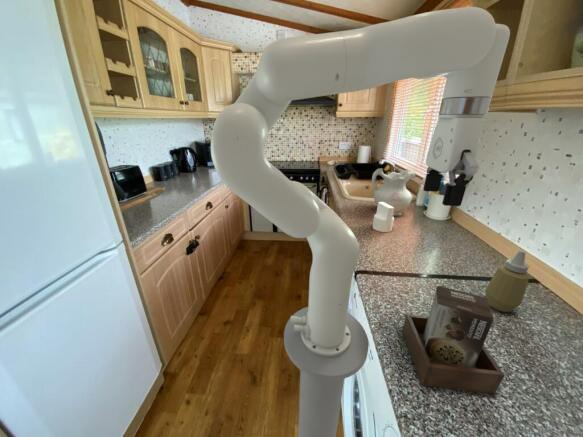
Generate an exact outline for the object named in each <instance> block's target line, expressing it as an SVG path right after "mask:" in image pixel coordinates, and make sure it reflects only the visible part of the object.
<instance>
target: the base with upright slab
mask: <svg viewBox="0 0 583 437" xmlns="http://www.w3.org/2000/svg"><path fill="white" fill-rule="evenodd" d="M376 206H377V205H376ZM393 212H394V207H392V206H390V205H388V204H387V203H385V202H378V206H377V207H376V213H375V214H374V215H373V221H372V229H373V230H375V231H377V232H380V233H391V232H392V231H393V226H394V220H395V217H394V215H393Z"/></svg>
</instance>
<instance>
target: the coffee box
mask: <svg viewBox="0 0 583 437" xmlns="http://www.w3.org/2000/svg"><path fill="white" fill-rule="evenodd" d="M428 316H429V317H428V320H427V324H426V327H425V331H424V334H423V337H422V344H423V346H424V348H425V351H426V353H427V355H428V358H429V360H430V362H431V363H432V364H440V365H449V366H458V367H467V368H474V366H475V364H476V361H477V359H478V356H479V354H480V351H481V349H482V346H483V345H484V344H485V342H486V339H487V337H488V335H489V332H490V330H491V328H492V325H493V323H494V320H495V317H494V315H493V312H492V308H491V306H490V305H489V302H488V299H487V298H486V296H482V295H477V294H473V293H470V292H469V293H468V292H465V291H460V290H457V289H453V288H449V287H445V286H442V285H441V286H440V285H437V286H436V290H435V293H434V296H433V299H432V304H431V306H430V311H429V314H428Z"/></svg>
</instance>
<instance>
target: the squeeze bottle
mask: <svg viewBox="0 0 583 437" xmlns="http://www.w3.org/2000/svg"><path fill="white" fill-rule="evenodd" d="M525 259H526V251H525V250H523V249H521V250H520V249H519V251H517V253H516V254H515V255H514V256H513V258H507V259H506V260H505V262H504V264H501V265H498V267H497V269H496V270H495V272H494V274H493V275H492V277H491V279H490V281H489V283H488V284H487V286H486V288H485V298H487V299H488V302H489V305H490V307H492V308H493V309H495V310H497V311H500V312H504V313H510V312H512V311H514V310H515V309H516V308H518V307H519V306H521V305H522V303H523V301H524V297H525V295H526V294H525V293H526V291H527V287H528V284H529V281H530V274H529V273H528V270H529V264H528V263H526V262H525V261H526V260H525Z"/></svg>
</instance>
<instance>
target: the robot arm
mask: <svg viewBox="0 0 583 437" xmlns="http://www.w3.org/2000/svg"><path fill="white" fill-rule="evenodd" d="M510 36H511V30H510V27H509V26H508V25H507V24H503V23H496V21H495V18H494V17H493V16H492V14H491V13H490V12H489V11H487V10H486V9H484V8H481V7H477V6H464V7H455V8H446V9H441V10H440V9H439V10H432V11H428V12H427V11H426V12H422V13H418V14H413V15H409V16H405V17H402V18H398V19H393V20H390V21H385V22H379V23H375V24H371V25H368V26H364V27H360V28H354V29H347V30H341V31H340V30H339V31H333V32H324V33H317V34H316V33H315V34H306V35H299V36H298V35H297V36H291V37H283V38H280V39H276V40H274V41H272V42H270V43H269V44H268V45H267V46H266V47H265V48H264V49H263V51H262V53H261V55H260V58H259V61H258V65H257V68H256V70H255V72H254V73H253V75H252V77H251V79H250V80H249V81H248V83H247V84H246V86H245V87H244V89H243V91H241V94H240V95H239V96H238V98H237V99H236V100H235V102H234V103H232V104H228V105H227V106H225V107H224V108H223V109H222V110H220V112H219V114H218V115H217V116H216V119H215V120H214V123H213V126H212V130H211V136H210V155H211V156H210V157H211V160H212V164H213V167H214V170H215V172H216V173H217V175H218V177H219V178H220V180H221V181H222V182H223V184H224V185H225V186H226V187H227V188H228V189H229V190H230V191H231V192H233V194H235V195H236V196H237V197H239V198H240V199H241V200H243V201H244V202H245V203H247V204H248V205H249V206H251V208H253V209H254V210H255V211H256V212H258V214H260V215H262V216H263V217H264V218H265V219H267V220H268V221H269V222H270V223H272V224H273V225H275V227H277V228H278V229H279V230H280V231H281V232H283V233H284V234H286V235H287V236H289V237H292V238H294V239H306V240H307V242H308V245H309V247H310V250H311V253H312V262H311V266H310V270H309V278H308V279H309V282H308V286H309V287H308V302H307V304H308V306H307V307H308V312H307V316H303V317H298V316H293V315H290V318H291V319H290V318H289V319H290V324H302V326H299V325H294V331H301V337H302V340H303V343H304V344H305V346H306V347H307V348H308V349H309V350H310V351H312V352H313V353H315V354H317V355H320V356H325V357H334V356H338V355H340V354H342V353H343V352H345V351H346V350H347V348H348V347H349V344H350V340H351V335H350V331H349V328H348V327H347V325H346V320H347V313H349V305H350V298H351V297H350V296H351V288H352V282H353V275H354V272H355V268H356V265H357V263H358V260H359V256H360V244H359V240H358V239H357V237H356V235H355V234H354V232H353V230H352V229H351V228H350V227H349V225H347V224H346V222H344V221H343V219H342V218H341V217H340V216H339V215H338V214H337V212H335V211H334V210H333V209H332V208H331V207H329V206H328V204H326V203H325V202H324V201H323V200H322V199H320V197H318V195H316V193H314V192H313V191H312V190H311V189H309V188H308V187H307V186H306V185H304V183H301V182H299V181H296V180H291V179H289V178H288V177H287V176H286V175H285V174H284V173H283V171H281V170H280V169H279V168H277V167H276V166H275V165H273V164H272V162H270V161H269V160H268V158H267V156H266V151H265V149H266V148H265V147H266V144H267V140H268V136H269V133H270V131H271V130H272V128H273V127H274V126H275V125H276V124H277V123H278V121H279V119H280V118H281V117H282V115H283V114H284V112H285V111H286V110H287V108H288V107H289V106H290V104H291V102H292V101H299V100H305V99H312V98H317V97H326V96H333V95H338V94H339V95H340V94H348V93H354V92H359V91H366V90H371V89H374V88H377V87H381V86H383V85H384V86H385V85H387V84H391V83H394V82H399V81H404V80H407V79H408V80H409V79H416V80H429V79H435V78H436V79H437V78H446V81H445V85H444V88H443V89H444V90H443V93H442V99H441V101H440V107H439V111H438V116H437V118H438V120H437V122H436V125H435V127H434V131H433V133H432V137H431V140H430V144H429V146H428V151H427V154H426V157H425V164H426V166H427V169H426V176H425V180H424V184H423V188H422V189H423V192H434V193H435V192H439V191H440V188H441V183H442V179H443V176H444V175H443V174H446V173H448V180H449V184H447V185H446V187H445V191H444V194H443V199H442V202H441V203H442V205H443V206H444V207H445V206H448V207H460V206H461V205H462V203H463V199H464V196H465V193H466V190H467V188H468V187H469V185H470V182H471V181H473V179H474V176H475V174H476V173H477V171H478V170H479V164H478V162H477V160H476V158H477V155H478V152H479V146H480V143H481V137H482V132H483V128H484V119H486V117H487V114H488V112H489V109H490V108H489V107H490V104H491V101H492V98H493V94H494V90H495V89H496V88H495V87H496V84H497V81H498V77H499V74H500V72H501V71H500V70H501V68H502V64H503V60H504V57H505V54H506V50H507V48H508V44H509V42H510V41H509V40H510Z"/></svg>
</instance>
